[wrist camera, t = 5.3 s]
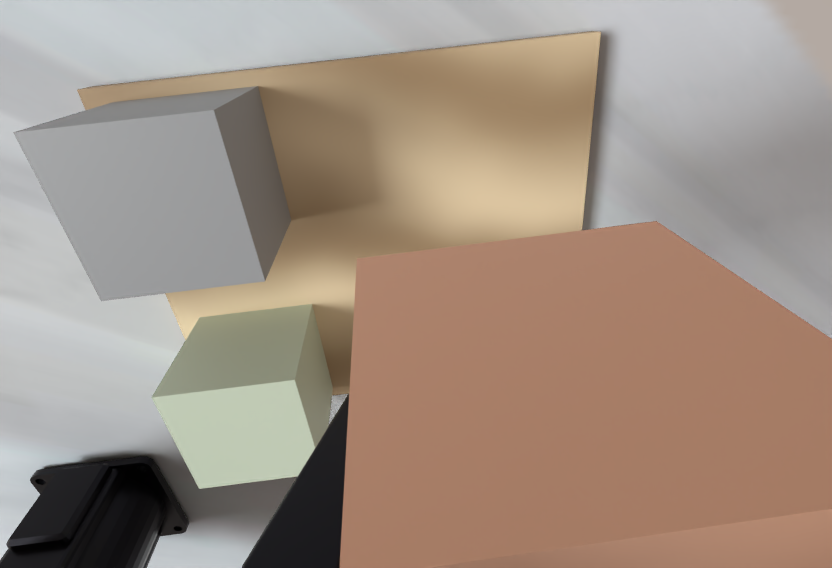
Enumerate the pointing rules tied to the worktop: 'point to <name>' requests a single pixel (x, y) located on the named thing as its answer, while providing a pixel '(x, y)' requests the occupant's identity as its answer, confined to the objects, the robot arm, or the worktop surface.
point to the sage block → (248, 395)
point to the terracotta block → (582, 410)
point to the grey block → (165, 191)
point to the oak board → (403, 163)
